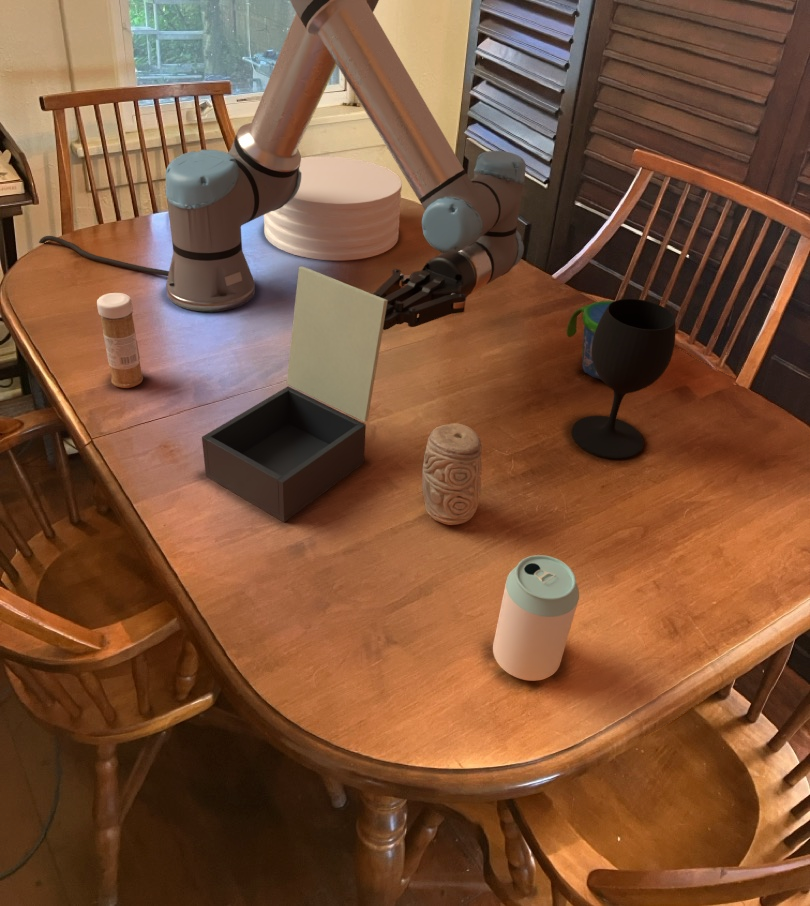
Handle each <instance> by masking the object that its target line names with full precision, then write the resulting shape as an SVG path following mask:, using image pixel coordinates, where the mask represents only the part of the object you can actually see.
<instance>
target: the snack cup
mask: <svg viewBox="0 0 810 906" xmlns="http://www.w3.org/2000/svg"><path fill="white" fill-rule="evenodd" d="M614 301H615V300H600V301H595V302H592V303H590V304H585V305H584V306H582V307H579V308H577V309H576V310H575V311H574V312H573V313H572V314H571V316H570V319H569V320H568V323H567V327H566V335H567V337H568V338H572V337H574V336H575V335H576V334H577V328H578V326H577V325H578V316H579V315H581V313H582V323H583V333H582V334H583V335H582V351H581V353H582V355H581V365H582V366H581V367H582V369H583V372H584V373H585V374H587V375H588V376H590V377H592V378H594V379H599V380H600V381H602V382H603V380H602V379H601V378H600V377H599V375H598V373H597V371H596V369H595V367H594V364H593V360H592V342H593V337H594V334H595V331H596V328H597V326H598V323H599V321H600V319H601V317H602V315H603V314H604V312H605V310H606V309H607V307H608V306H609V304H610V303H612V302H614Z"/></svg>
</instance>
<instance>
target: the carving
mask: <svg viewBox="0 0 810 906" xmlns="http://www.w3.org/2000/svg"><path fill="white" fill-rule="evenodd" d="M482 450H483V445H482V441H481V439H480V436H479V435H478V433H477V432H476V431H475V430H474V429H473V428H472V427H470V426H467V425H465V424H462V423H456V422H454V423H453V422H452V423H448V424H442V425H438V426H436V427H435V428H433V429H432V430H431V431H430V434H429V436H428V438H427V443H426V446H425V451H424V456H423V464H422V480H421V483H422V485H421V488H422V490H421V491H422V495H423V501H424V506H425V511H426V513H427V514H428V515H429V517H431V518H432V519H433V520H435V521H436V522H439V523H441V524H444V525H450V526H454V525H460V524H465V523H467V522H468V521H470V520H471V519H472V518H473V517H474V515H475V514H476V512H477V509H478V507H479V503H480V497H481V494H482V477H481V476H482V471H483V465H482V464H483V463H482Z"/></svg>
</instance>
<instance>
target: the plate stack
mask: <svg viewBox="0 0 810 906" xmlns="http://www.w3.org/2000/svg"><path fill="white" fill-rule="evenodd" d="M299 171H300V172H301V183H300V187H299V189H298V191H297V193H296V195H295V196H294V197H293V199H291V200H290V201H289V202H288V203H287V204H285V205H284V206H283V207H281V208H279V209H277V210H275V211H271V212H269V213H267V214H264V215H263V222H264V224H263V225H264V228H263V231H264V236H265V238H266V240H267V241H268V242H269V244H271V245H273V246H274V247H275V248H277V249H279V250H281V251H282V252H286V253H287V254H291V255H295V256H298V257H302V258H306V259H312V260H319V261H354V260H362V259H367V258H372V257H375V256H379V255H381V254H384V253H386V252H387V251H389V250H391V249H392V248H394V246H395V245H396V244H397V243H398V241H399V234H400V232H399V231H400V230H399V228H400V215H401V203H402V202H401V201H402V193H401V192H402V185H403V182H402V179H401V177H400V176H399V175H398V174H397V173H396V172H394V171H393V170H391V168H390V169H389V168H388V167H385V166H383V165H380V164H378V163H375V162H371V161H367V160H362V159H358V158H350V157H344V156H343V157H342V156H305V157H301V162H300V167H299Z"/></svg>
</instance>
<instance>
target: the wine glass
mask: <svg viewBox="0 0 810 906" xmlns="http://www.w3.org/2000/svg"><path fill="white" fill-rule="evenodd" d="M613 301H614V302H612V303H610V304H609V306H608V307H607V309H606V310H605V312H604V314H603V315H602V317H601V319H600V321H599V323H598V326H597V328H596V331H595V334H594V337H593V342H592V360H593V364H594V367H595V369H596V371H597V373H598V375H599V377H600V378H601V379H602V380H603V381H602V380H601V381H602V382H603V383H604V384H605V385H606V386H607V387H609V388H610V389H611V390H612V391H613V400H612V405H611V409H610V413H609V416H606V415H590V416H585V417H582V418H580V419H578V420H577V421H576V422H574V424H573V425H572V427H571V437H572V439H573V441H574V442H575V444H576V445H577V446H578V447H579V448H580V449H582V450H583V451H585V452H586V453H589V454H590V455H592V456H595V457H597V458H600V459H606V460H613V461H621V460H628V459H632V458H634V457H636V456H638V455H639V454H640V453H642V450H643V449H644V444H645V443H644V442H645V441H644V438H643V436H642V434H641V433H640V432H639V431H638V429H636V428H635V427H634V426H633V425H632V424H630V423H628V422H626V421H624V420H622V419H618V418H617V416H618V414H619V410H620V406H621V404H622V402H623V399H624V397H625V396H626V394H631V393H635V392H639V391H642V390H643V389H645V388H647V387H650V386H651V385H653V384H654V383H655V382H657V381H658V380H659V379H660V378H661V376H662V375H663V374H664V373H665V371H666V370H667V369H668V366H669V365H670V362H671V360H672V356H673V354H674V349H675V343H676V334H677V333H676V331H677V330H676V329H677V328H676V326H677V325H676V318H675V315H674V314H673V313H672V311H670V310H669V309H667V308H666V307H665V306H662V305H660V304H658V303H655V302H653V301H649V300H644V299H639V298H621V299H617V300H616V299H615V300H613Z"/></svg>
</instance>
